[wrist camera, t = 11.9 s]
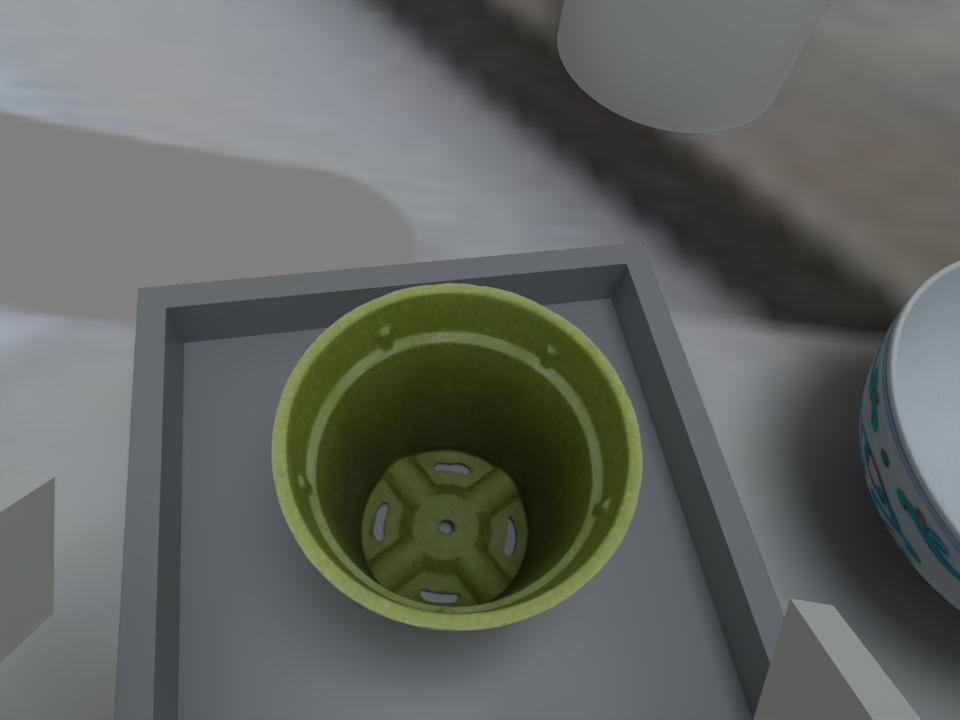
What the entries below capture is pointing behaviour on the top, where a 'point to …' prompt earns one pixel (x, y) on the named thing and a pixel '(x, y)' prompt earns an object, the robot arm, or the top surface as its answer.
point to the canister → (685, 57)
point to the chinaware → (919, 431)
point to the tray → (419, 652)
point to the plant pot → (456, 456)
